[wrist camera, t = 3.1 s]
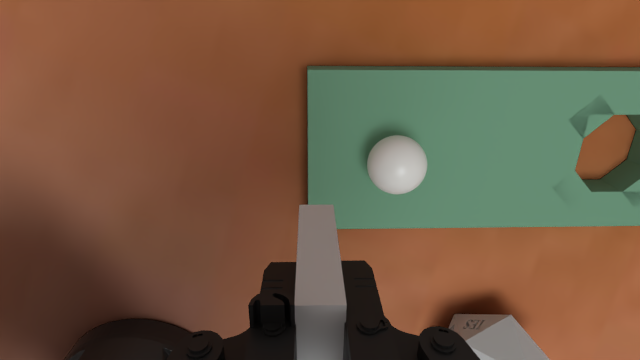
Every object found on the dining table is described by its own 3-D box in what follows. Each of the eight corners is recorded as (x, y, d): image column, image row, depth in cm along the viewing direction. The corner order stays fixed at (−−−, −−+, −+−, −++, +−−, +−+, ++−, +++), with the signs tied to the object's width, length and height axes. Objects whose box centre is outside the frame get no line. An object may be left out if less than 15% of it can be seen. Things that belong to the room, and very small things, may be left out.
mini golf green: (307, 214, 33) (310, 341, 20) (307, 65, 28) (309, 102, 15) (654, 211, 34) (874, 329, 21) (707, 67, 29) (1031, 103, 16)
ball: (361, 181, 29) (370, 204, 25) (364, 128, 27) (374, 145, 24) (415, 180, 29) (431, 204, 25) (420, 128, 28) (439, 145, 24)
